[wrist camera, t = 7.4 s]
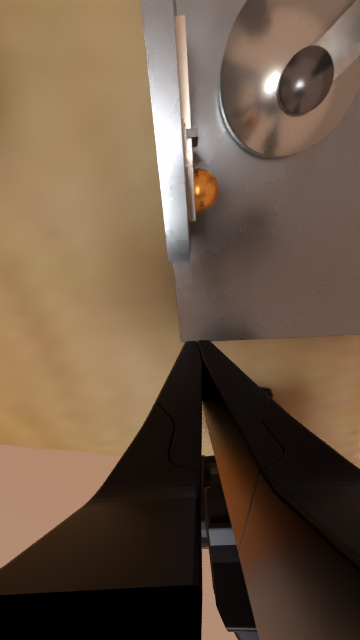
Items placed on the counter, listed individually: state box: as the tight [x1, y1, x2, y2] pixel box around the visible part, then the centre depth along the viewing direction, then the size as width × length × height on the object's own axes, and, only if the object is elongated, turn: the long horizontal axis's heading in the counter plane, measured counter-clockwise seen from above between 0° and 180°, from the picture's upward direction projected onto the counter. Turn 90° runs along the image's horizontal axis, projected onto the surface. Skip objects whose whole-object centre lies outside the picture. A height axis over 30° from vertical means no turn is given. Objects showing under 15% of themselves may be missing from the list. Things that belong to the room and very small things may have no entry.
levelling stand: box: [140, 0, 360, 342], centre depth 13 cm, size 22×17×8 cm
